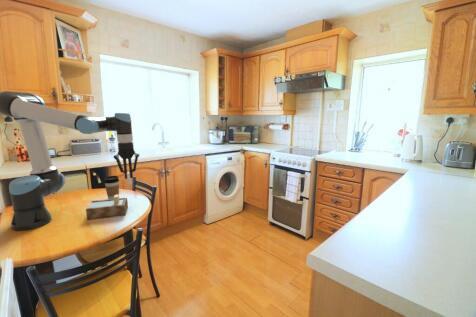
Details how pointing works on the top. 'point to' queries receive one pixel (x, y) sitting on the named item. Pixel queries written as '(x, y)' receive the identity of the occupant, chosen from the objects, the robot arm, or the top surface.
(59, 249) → the top surface
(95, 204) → the lid
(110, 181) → the coffee cup
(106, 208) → the box
